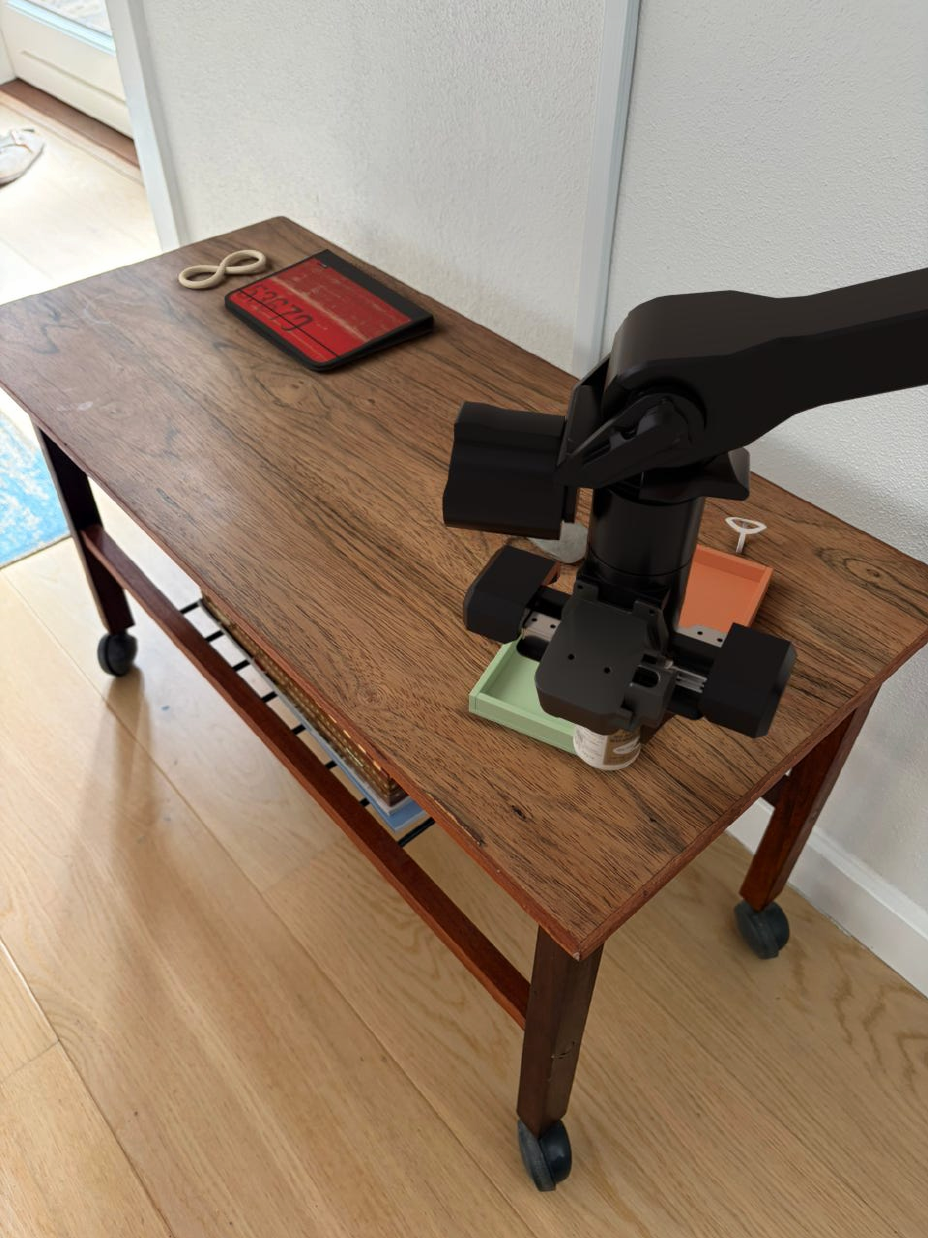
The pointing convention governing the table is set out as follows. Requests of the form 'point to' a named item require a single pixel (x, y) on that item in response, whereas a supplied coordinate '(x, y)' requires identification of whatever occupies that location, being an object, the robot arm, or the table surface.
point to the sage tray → (518, 699)
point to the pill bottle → (607, 748)
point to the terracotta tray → (723, 590)
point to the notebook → (327, 312)
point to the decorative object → (222, 269)
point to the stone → (565, 543)
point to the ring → (744, 529)
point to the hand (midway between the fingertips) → (609, 725)
